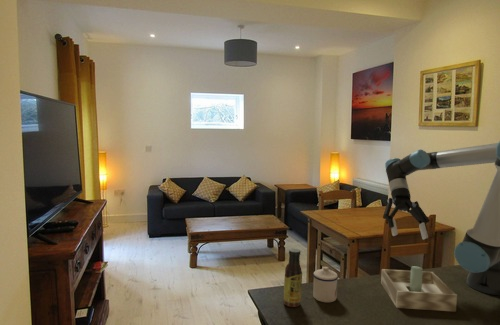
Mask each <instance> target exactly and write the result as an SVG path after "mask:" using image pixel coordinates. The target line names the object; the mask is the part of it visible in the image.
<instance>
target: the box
mask: <svg viewBox="0 0 500 325" xmlns="http://www.w3.org/2000/svg"><path fill="white" fill-rule="evenodd" d="M380 276H381V277H380V280H381V281H380V283H381V285H382V287H383V289H384V290H385V292H386V293H387V295H388V296H389V298H390V300H391V301H392V303H393V304H394V306H395V307H396V308H397V309H409V310H410V309H411V310H412V309H413V310H425V311H427V310H428V311H441V312H442V311H443V312H457V299H458V294H457V293H456V292H454V291H453V289H451V288H450V287H449V285H447V284H446V283H445V282H444V281H443V280H442V279H441V278H440V277H439V276H438V275H436V274H435V272H434V271H423V274H422V291H421V292H412V291H410V278H411V270H406V269H405V270H404V269H387V268H386V269H385V268H382V269H381V275H380Z"/></svg>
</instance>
